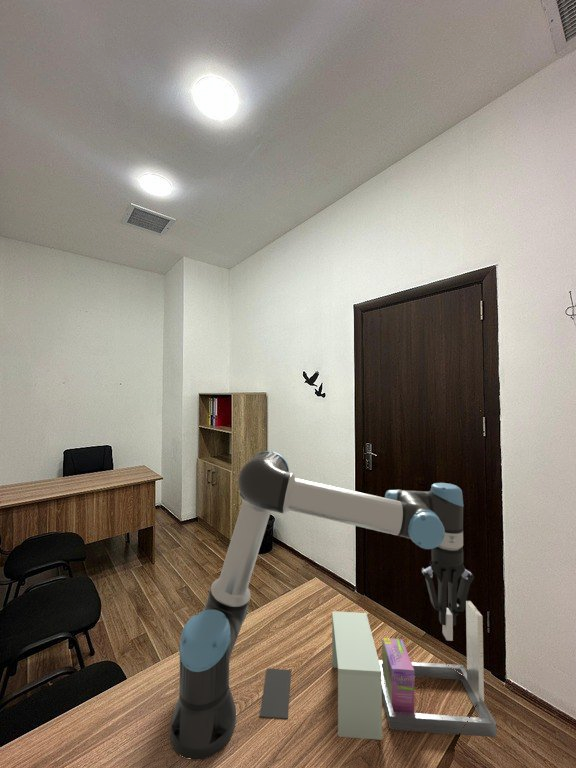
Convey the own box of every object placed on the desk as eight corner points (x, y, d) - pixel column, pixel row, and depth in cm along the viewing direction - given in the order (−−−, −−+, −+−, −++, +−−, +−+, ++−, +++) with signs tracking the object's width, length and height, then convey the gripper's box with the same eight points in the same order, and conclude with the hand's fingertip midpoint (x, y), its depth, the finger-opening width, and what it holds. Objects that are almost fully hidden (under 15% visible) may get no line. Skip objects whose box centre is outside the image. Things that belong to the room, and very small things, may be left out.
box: (415, 719, 79) (414, 669, 79) (391, 718, 79) (391, 668, 80) (402, 682, 89) (402, 638, 90) (382, 681, 90) (381, 637, 90)
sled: (390, 730, 76) (389, 625, 77) (375, 671, 92) (375, 585, 93) (496, 738, 74) (494, 631, 75) (462, 676, 91) (461, 589, 92)
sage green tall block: (338, 736, 75) (338, 668, 75) (332, 664, 95) (332, 611, 96) (382, 739, 74) (381, 671, 75) (366, 666, 94) (366, 612, 95)
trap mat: (259, 717, 79) (259, 716, 79) (267, 669, 93) (267, 668, 93) (287, 719, 79) (287, 718, 79) (291, 670, 93) (291, 669, 93)
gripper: (426, 550, 81) (427, 646, 80) (480, 552, 80) (481, 649, 80) (416, 537, 89) (417, 625, 88) (465, 539, 88) (466, 627, 87)
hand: (447, 636), depth 84 cm, fingers closed
